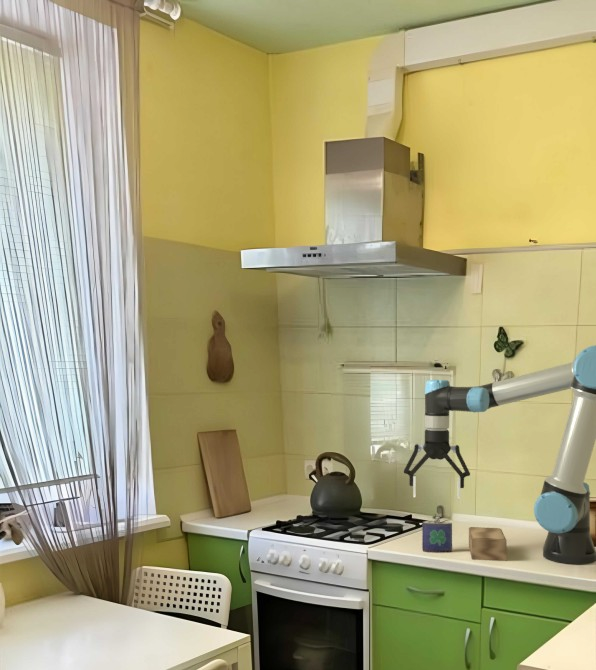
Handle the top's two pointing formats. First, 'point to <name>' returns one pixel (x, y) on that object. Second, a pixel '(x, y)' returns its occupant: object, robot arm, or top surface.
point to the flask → (436, 536)
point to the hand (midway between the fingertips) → (436, 497)
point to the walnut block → (487, 544)
